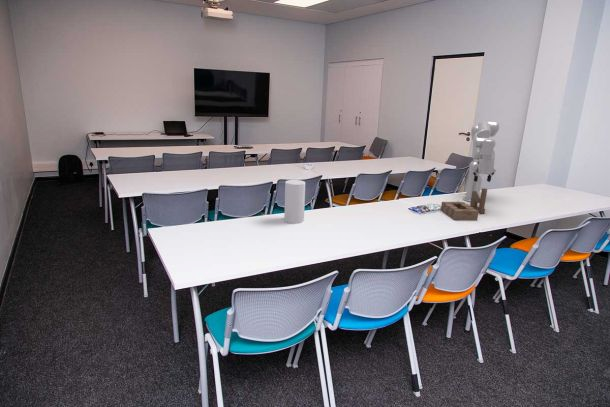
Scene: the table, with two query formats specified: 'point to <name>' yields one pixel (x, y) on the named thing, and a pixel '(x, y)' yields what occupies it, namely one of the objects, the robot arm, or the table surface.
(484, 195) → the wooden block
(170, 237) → the table surface
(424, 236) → the table surface
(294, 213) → the cylinder
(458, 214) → the end cap block
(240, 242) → the table surface
